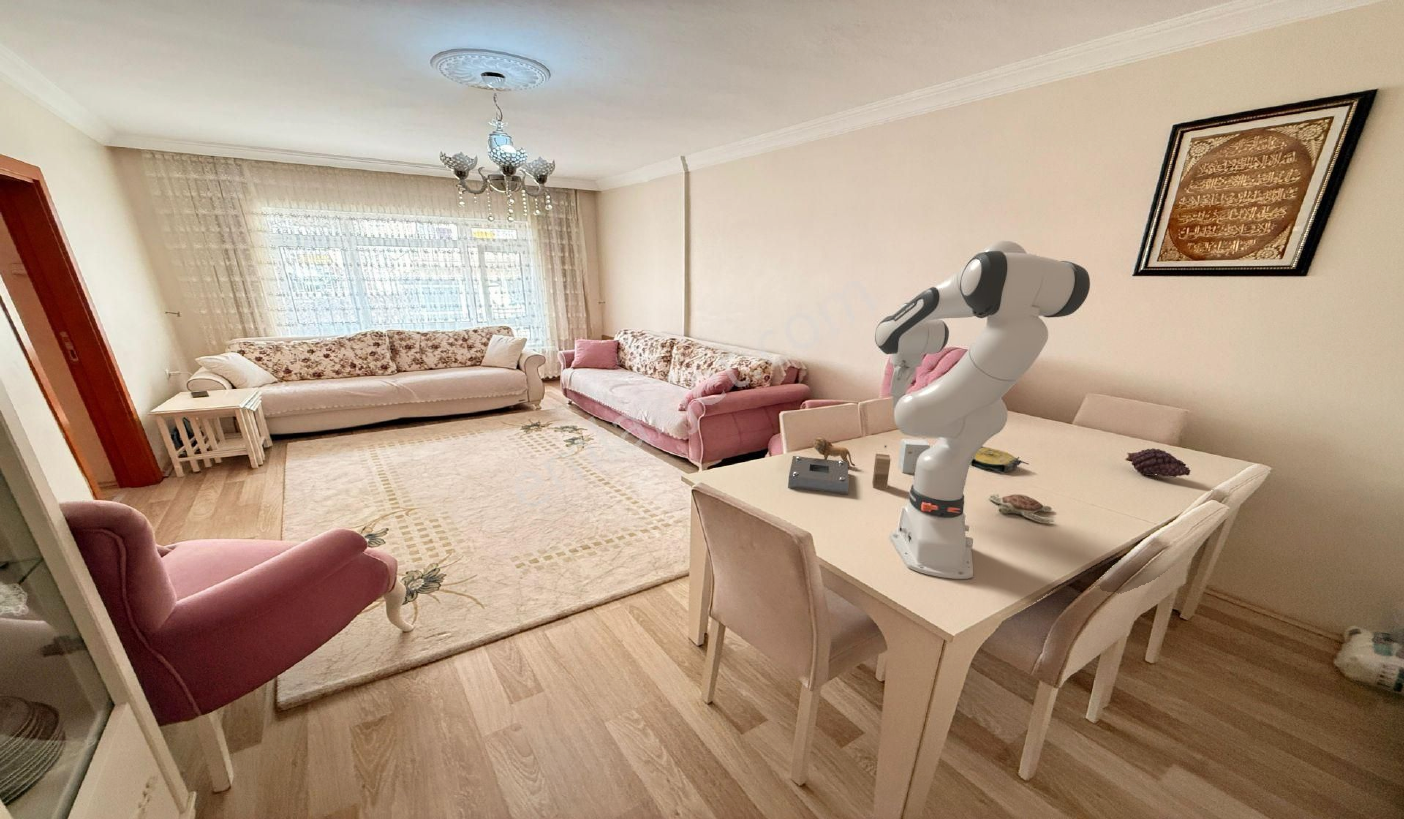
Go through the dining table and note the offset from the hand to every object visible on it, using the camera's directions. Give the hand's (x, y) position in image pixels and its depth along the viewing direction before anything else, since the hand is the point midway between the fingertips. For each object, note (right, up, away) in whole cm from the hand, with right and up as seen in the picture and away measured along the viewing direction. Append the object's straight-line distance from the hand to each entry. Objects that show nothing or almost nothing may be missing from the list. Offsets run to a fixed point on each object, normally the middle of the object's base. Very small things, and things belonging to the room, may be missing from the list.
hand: (898, 403), depth 149 cm
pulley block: (+41, -21, +32) cm, 57 cm away
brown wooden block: (-3, -26, +8) cm, 28 cm away
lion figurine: (-13, -21, +26) cm, 36 cm away
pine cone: (+95, -25, +21) cm, 101 cm away
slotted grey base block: (-22, -25, +12) cm, 35 cm away
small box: (+13, -23, +21) cm, 34 cm away
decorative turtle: (+32, -32, -6) cm, 46 cm away
